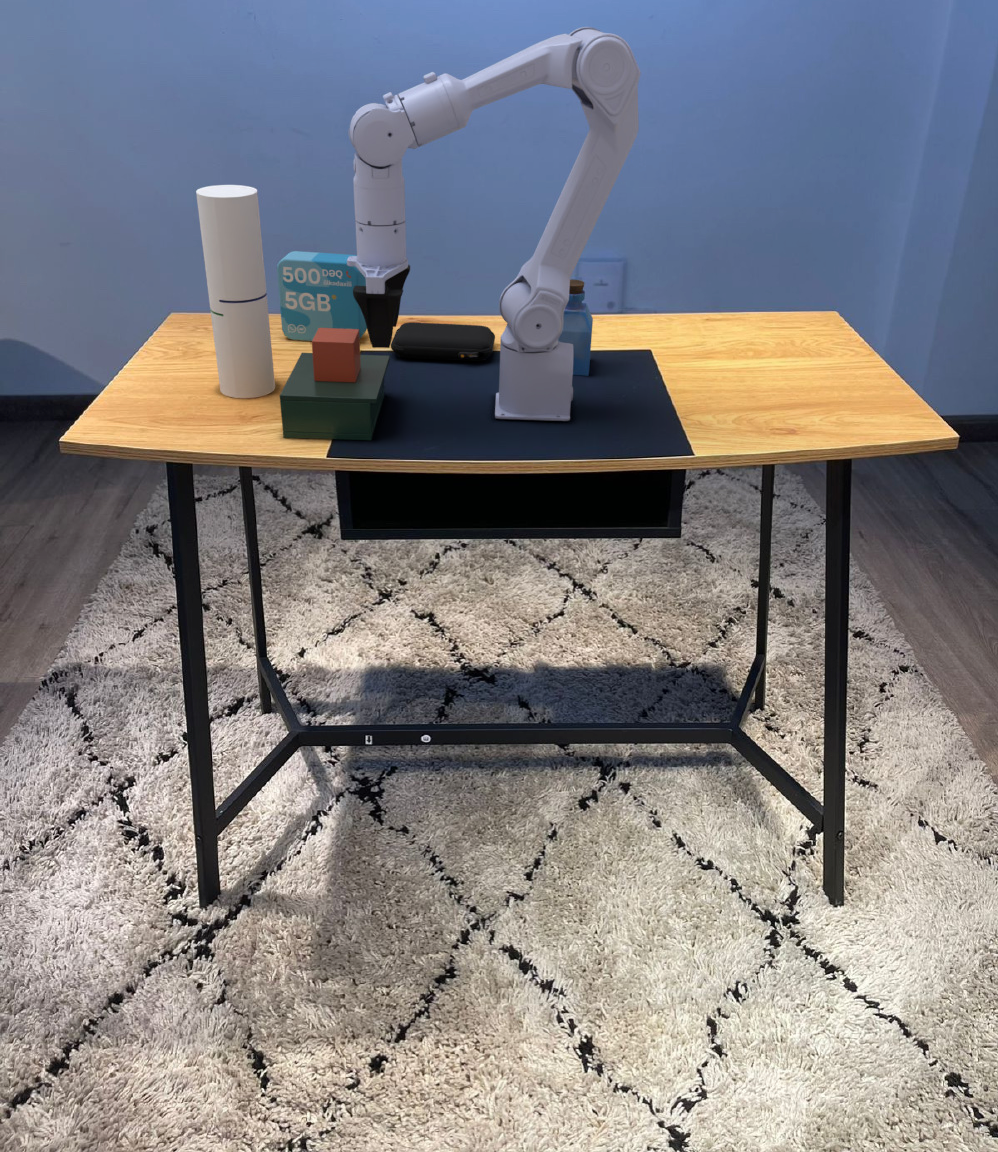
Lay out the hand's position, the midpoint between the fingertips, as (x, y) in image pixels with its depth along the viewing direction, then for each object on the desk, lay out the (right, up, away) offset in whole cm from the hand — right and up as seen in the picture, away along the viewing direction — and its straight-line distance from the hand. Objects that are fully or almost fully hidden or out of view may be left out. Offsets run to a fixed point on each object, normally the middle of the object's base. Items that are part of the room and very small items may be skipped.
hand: (384, 336), depth 124 cm
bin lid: (-6, -5, +2) cm, 8 cm away
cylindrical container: (-20, -4, +12) cm, 23 cm away
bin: (-7, -9, +5) cm, 12 cm away
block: (-6, -4, +2) cm, 8 cm away
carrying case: (+6, +3, +26) cm, 26 cm away
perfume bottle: (+24, +1, +22) cm, 32 cm away
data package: (-12, +7, +30) cm, 33 cm away
